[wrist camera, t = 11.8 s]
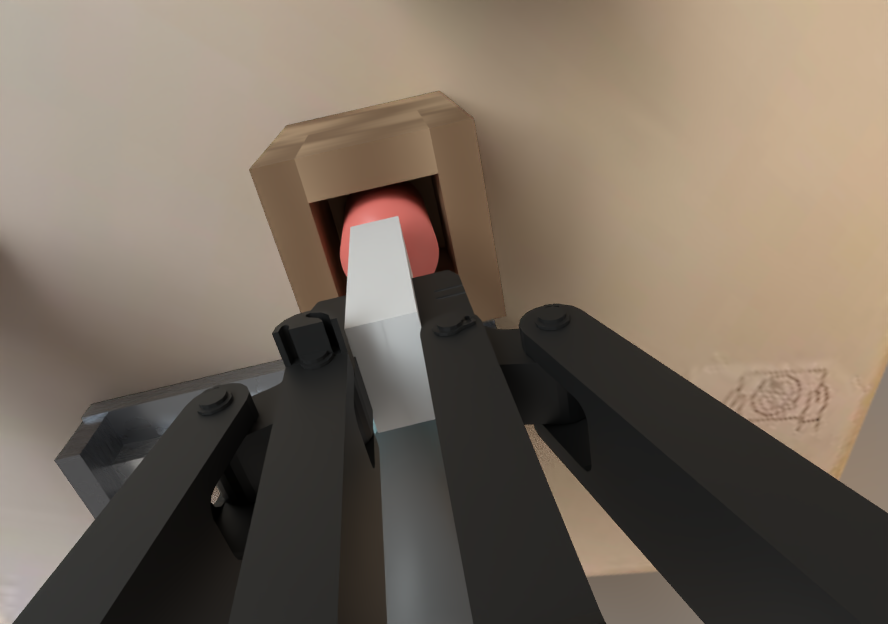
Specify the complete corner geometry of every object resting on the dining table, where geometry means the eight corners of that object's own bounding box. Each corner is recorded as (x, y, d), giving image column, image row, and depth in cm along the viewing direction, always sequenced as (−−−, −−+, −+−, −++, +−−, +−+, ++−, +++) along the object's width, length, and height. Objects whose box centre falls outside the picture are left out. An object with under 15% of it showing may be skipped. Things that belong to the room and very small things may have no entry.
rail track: (141, 485, 33) (112, 543, 29) (91, 404, 30) (52, 457, 26) (505, 397, 33) (523, 444, 29) (490, 310, 30) (507, 349, 27)
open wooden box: (335, 279, 28) (323, 375, 20) (286, 125, 25) (249, 169, 17) (468, 248, 29) (508, 332, 21) (439, 90, 25) (473, 118, 17)
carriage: (364, 453, 31) (363, 717, 19) (336, 371, 28) (314, 617, 16) (469, 428, 31) (534, 675, 19) (451, 344, 28) (512, 568, 16)
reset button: (356, 260, 23) (355, 309, 19) (334, 184, 21) (327, 219, 17) (433, 242, 23) (447, 287, 19) (416, 165, 21) (427, 196, 17)
